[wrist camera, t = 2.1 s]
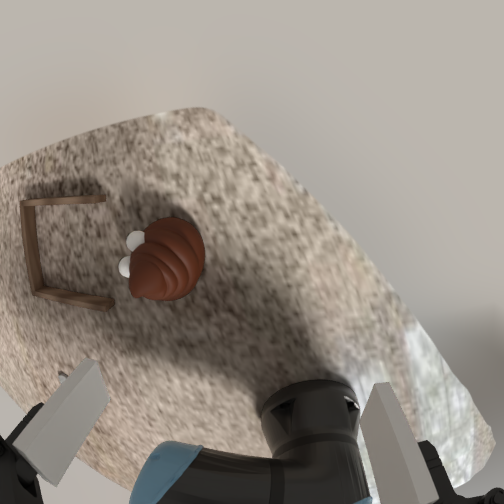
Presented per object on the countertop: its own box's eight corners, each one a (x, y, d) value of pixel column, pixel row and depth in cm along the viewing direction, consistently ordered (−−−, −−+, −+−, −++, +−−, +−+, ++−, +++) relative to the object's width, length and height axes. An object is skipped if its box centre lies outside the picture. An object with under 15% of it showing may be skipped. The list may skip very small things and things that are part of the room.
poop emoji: (187, 306, 33) (161, 349, 24) (128, 275, 32) (88, 305, 23) (220, 235, 30) (199, 259, 21) (154, 202, 30) (112, 213, 21)
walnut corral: (105, 194, 30) (94, 196, 27) (114, 304, 34) (106, 312, 31) (30, 198, 30) (19, 201, 28) (41, 289, 34) (32, 295, 32)
